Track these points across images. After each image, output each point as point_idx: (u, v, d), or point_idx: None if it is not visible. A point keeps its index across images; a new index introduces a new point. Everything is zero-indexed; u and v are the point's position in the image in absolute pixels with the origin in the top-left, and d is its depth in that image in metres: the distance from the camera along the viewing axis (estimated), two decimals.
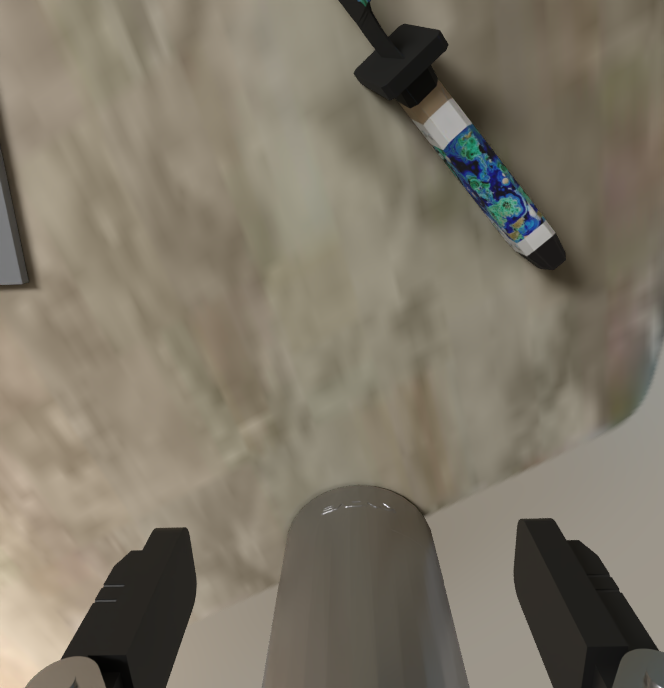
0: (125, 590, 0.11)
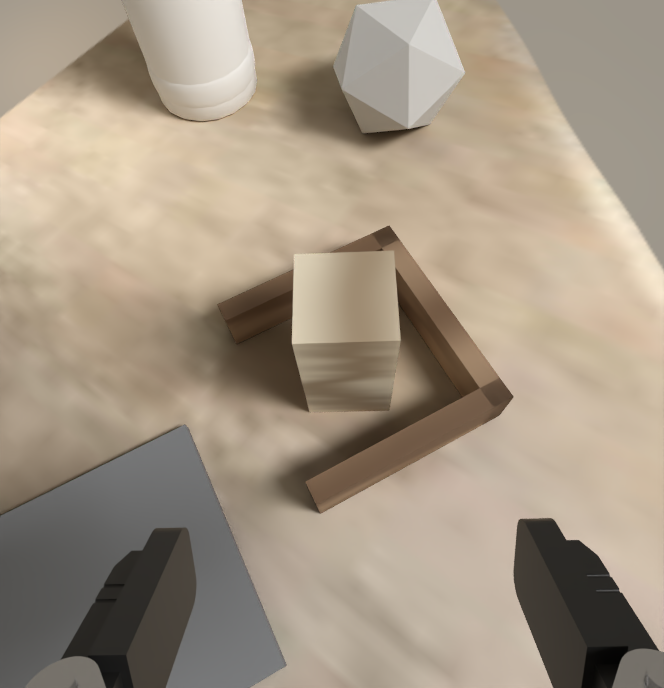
0: (125, 590, 0.11)
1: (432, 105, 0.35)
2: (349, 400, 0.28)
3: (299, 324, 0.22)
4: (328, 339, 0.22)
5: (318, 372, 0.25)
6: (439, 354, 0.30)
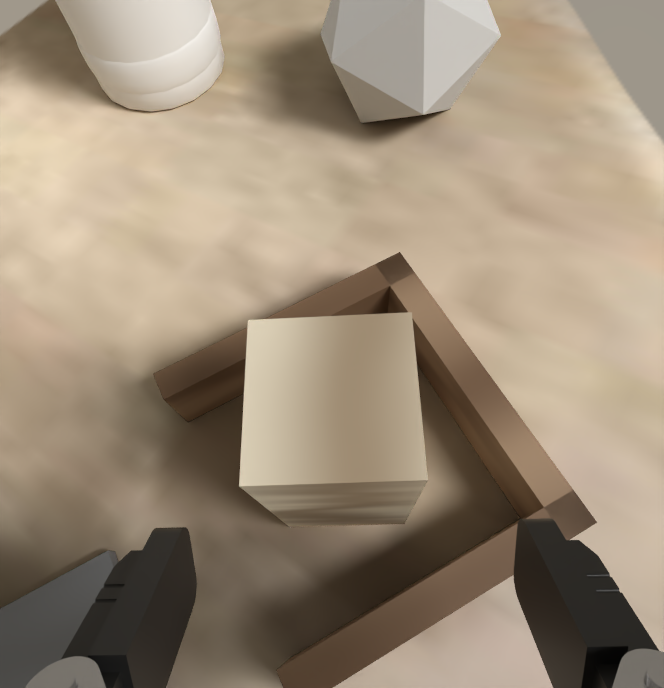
0: (125, 590, 0.11)
1: (455, 82, 0.26)
2: (345, 519, 0.19)
3: (253, 448, 0.13)
4: (302, 477, 0.13)
5: (292, 504, 0.15)
6: (475, 440, 0.21)
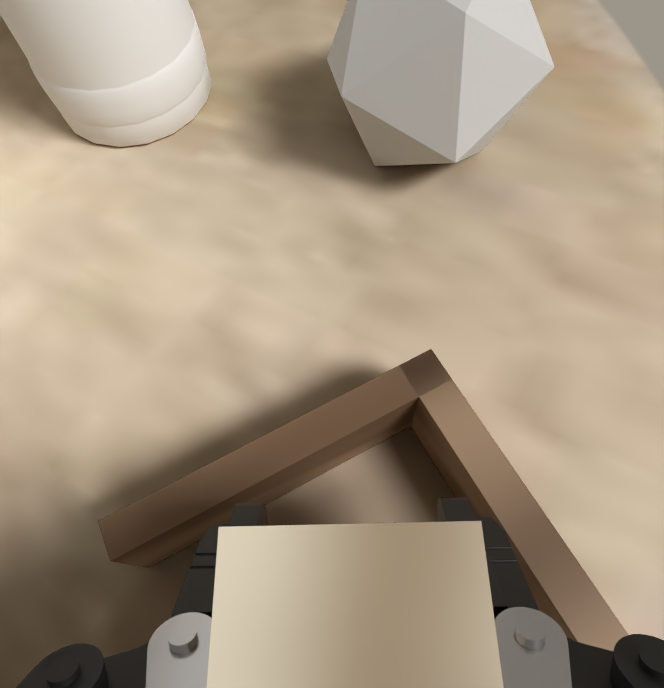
0: None
1: (496, 123, 0.21)
2: None
3: None
4: None
5: None
6: None
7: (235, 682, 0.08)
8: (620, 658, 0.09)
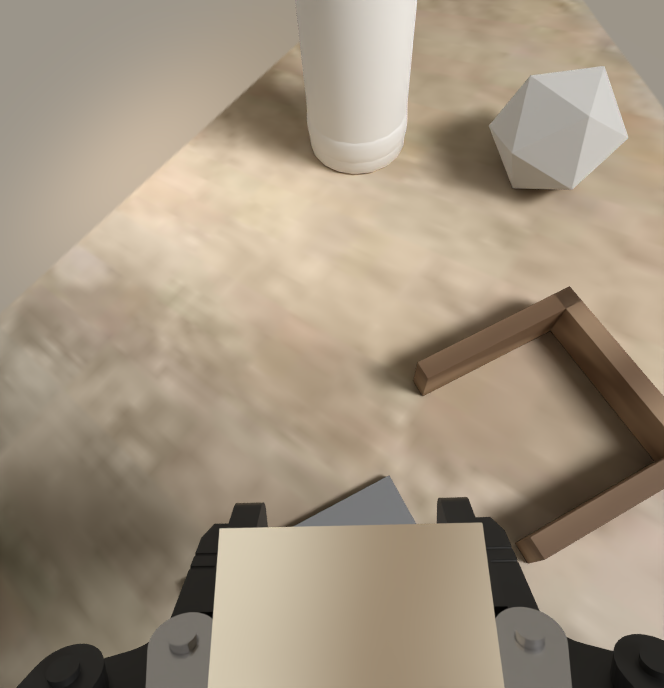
0: None
1: (595, 167, 0.37)
2: None
3: None
4: None
5: None
6: (624, 410, 0.32)
7: (236, 684, 0.08)
8: (620, 658, 0.09)
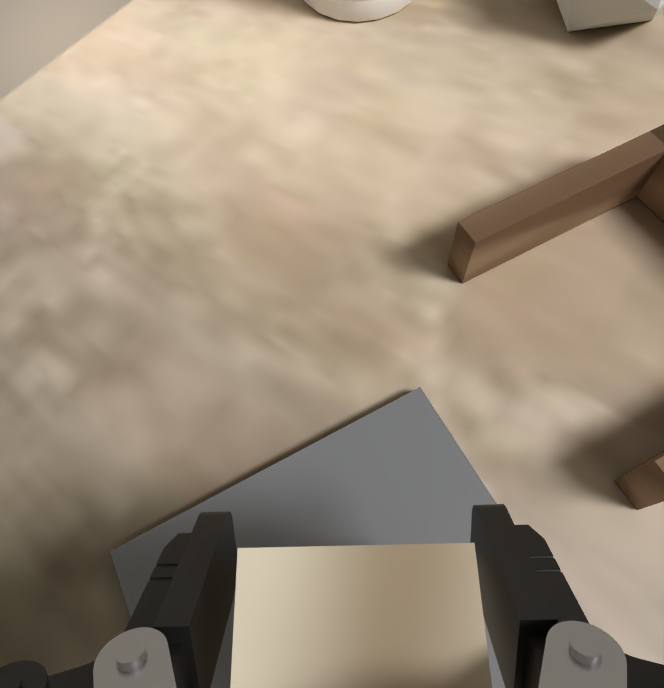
0: (180, 568, 0.11)
1: None
2: None
3: None
4: None
5: None
6: None
7: None
8: None
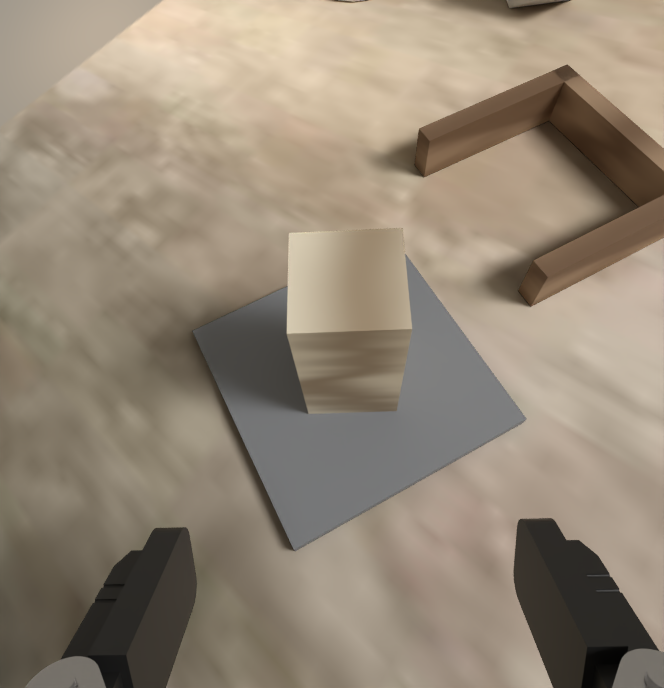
0: (125, 590, 0.11)
1: None
2: (352, 400, 0.25)
3: (295, 311, 0.19)
4: (329, 328, 0.19)
5: (317, 367, 0.22)
6: (623, 175, 0.33)
7: (299, 281, 0.20)
8: None
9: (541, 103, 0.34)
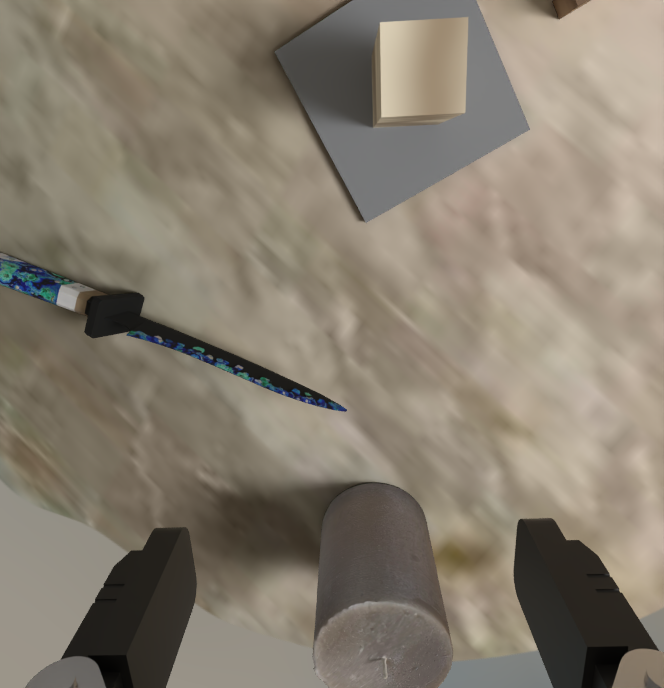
0: (125, 590, 0.11)
1: None
2: (408, 124, 0.35)
3: (387, 98, 0.28)
4: (410, 112, 0.28)
5: (392, 120, 0.31)
6: None
7: (389, 71, 0.28)
8: None
9: None
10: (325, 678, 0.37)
